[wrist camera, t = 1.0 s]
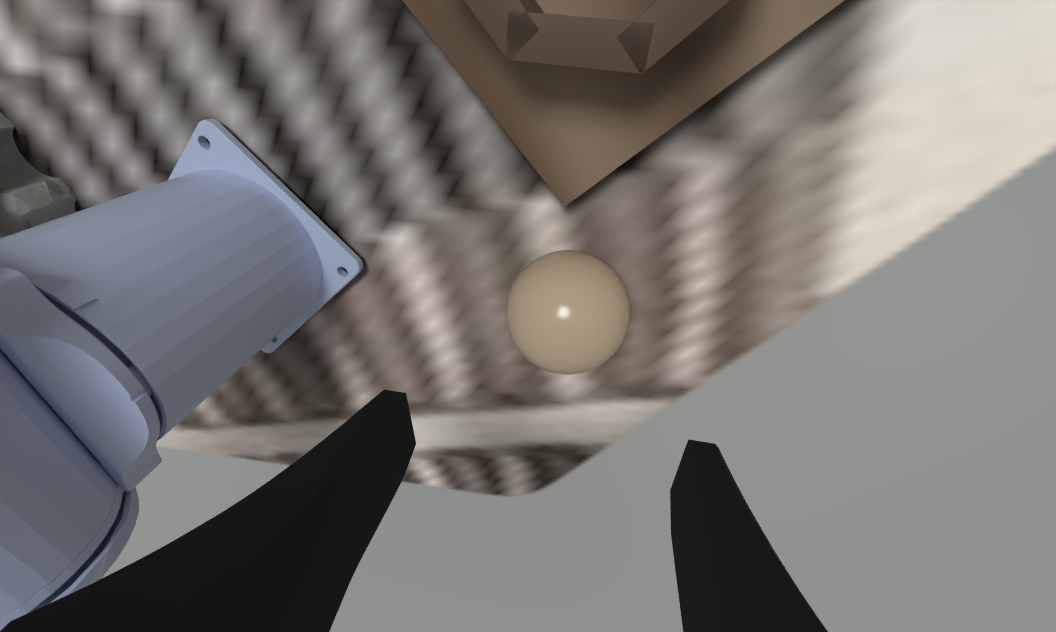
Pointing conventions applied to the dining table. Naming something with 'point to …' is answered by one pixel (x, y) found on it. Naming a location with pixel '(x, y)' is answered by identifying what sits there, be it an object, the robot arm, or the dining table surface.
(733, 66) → the egg stand
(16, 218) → the egg carton
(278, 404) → the dining table surface
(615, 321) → the egg
